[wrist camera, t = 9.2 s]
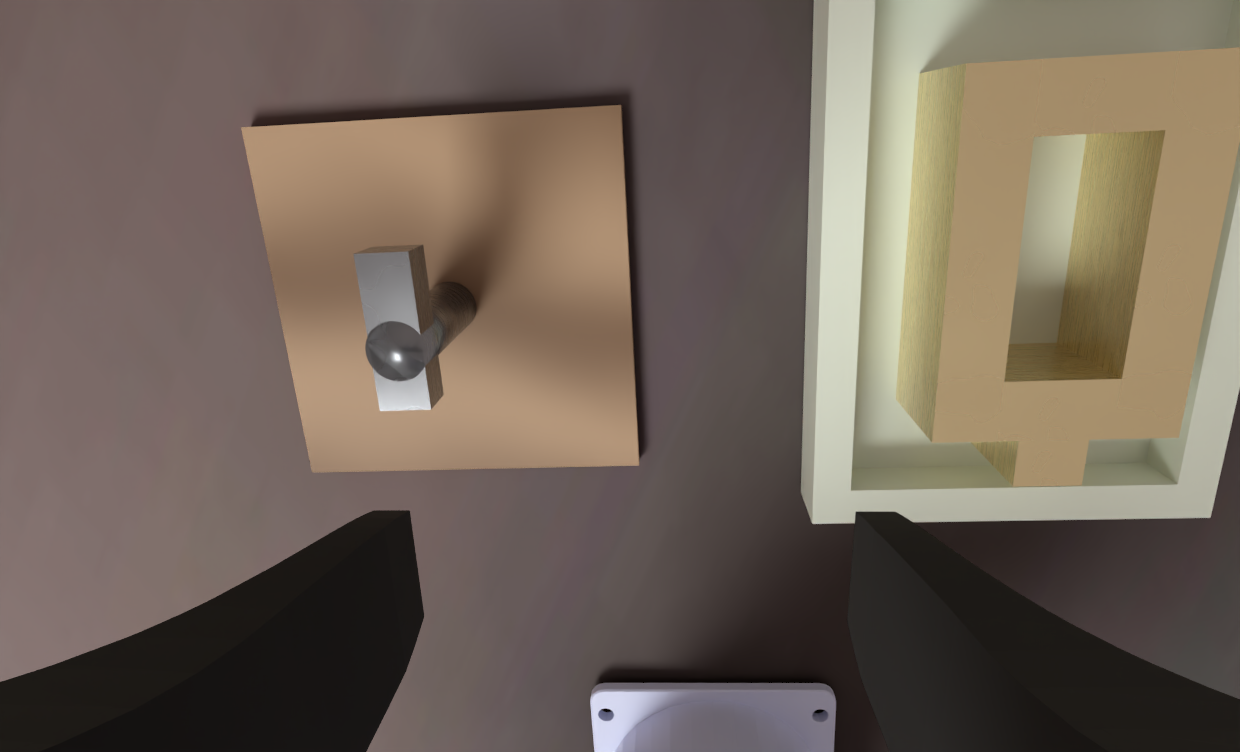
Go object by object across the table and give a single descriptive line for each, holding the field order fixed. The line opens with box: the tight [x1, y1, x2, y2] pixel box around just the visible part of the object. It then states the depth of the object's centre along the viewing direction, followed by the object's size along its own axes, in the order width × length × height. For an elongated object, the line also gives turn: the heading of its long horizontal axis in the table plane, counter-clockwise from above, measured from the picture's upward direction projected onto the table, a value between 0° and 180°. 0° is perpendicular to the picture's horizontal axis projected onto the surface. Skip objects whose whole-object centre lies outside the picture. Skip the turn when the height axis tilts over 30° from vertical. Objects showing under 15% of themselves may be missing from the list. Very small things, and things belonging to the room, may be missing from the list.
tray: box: [801, 0, 1240, 524], centre depth 19 cm, size 14×10×2 cm
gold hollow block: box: [896, 47, 1240, 487], centre depth 18 cm, size 6×10×3 cm, turn 3°
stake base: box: [241, 105, 639, 472], centre depth 21 cm, size 10×10×1 cm
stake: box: [354, 244, 476, 411], centre depth 18 cm, size 4×1×4 cm, turn 3°
